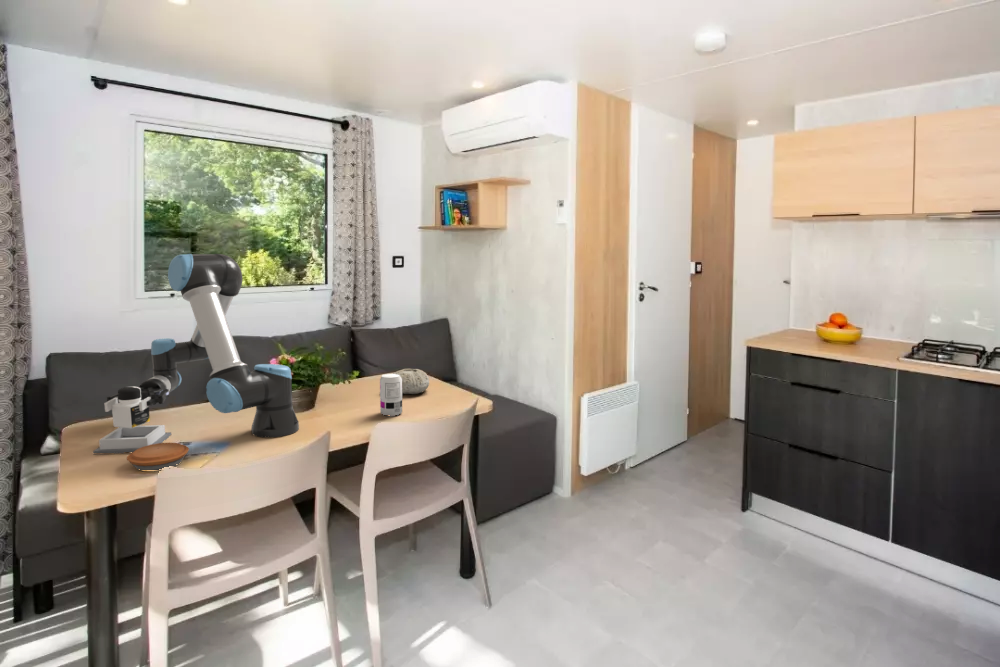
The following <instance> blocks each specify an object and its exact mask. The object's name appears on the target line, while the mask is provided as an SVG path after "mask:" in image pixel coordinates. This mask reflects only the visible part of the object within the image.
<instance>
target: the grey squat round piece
mask: <svg viewBox="0 0 1000 667" xmlns="http://www.w3.org/2000/svg"><path fill="white" fill-rule="evenodd" d="M392 374H399V375H400V377H401V379H402V394H404V395H406V394H408V395H416V394H417V395H419V394H421V393H423V392H424V391H426V390H427V389H428V387H429V386H430V377H429V376H428V375H427V372H425V371H423V370H422V369H419V368H402V369H400V370H397V371H395V372H393V373H392Z"/></svg>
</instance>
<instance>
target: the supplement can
mask: <svg viewBox="0 0 1000 667" xmlns="http://www.w3.org/2000/svg"><path fill="white" fill-rule="evenodd" d="M379 396H380V397H379V400H380V401H379V402H380V403H379V404H380V409H379V410H380V414H381V415H382V414H383V415H382V416H384V415H390V416H389V417H396V416H395V415H397V416H399V414H400V415H401V414H402V413H403V393H402V379H401V377H400V375H399V374H393V373H384V374H382V375H381V377H380V378H379Z"/></svg>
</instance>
